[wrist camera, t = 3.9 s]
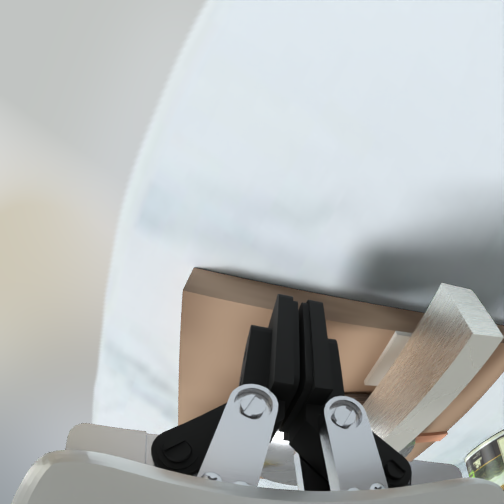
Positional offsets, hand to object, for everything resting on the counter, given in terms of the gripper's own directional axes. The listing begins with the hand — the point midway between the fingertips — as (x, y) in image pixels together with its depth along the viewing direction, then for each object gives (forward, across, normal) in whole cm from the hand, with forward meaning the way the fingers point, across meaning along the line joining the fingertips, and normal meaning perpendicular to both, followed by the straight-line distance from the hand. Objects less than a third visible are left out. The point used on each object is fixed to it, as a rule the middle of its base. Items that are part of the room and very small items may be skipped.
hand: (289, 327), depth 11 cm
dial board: (+4, -6, +12) cm, 14 cm away
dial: (+2, -6, +7) cm, 10 cm away
